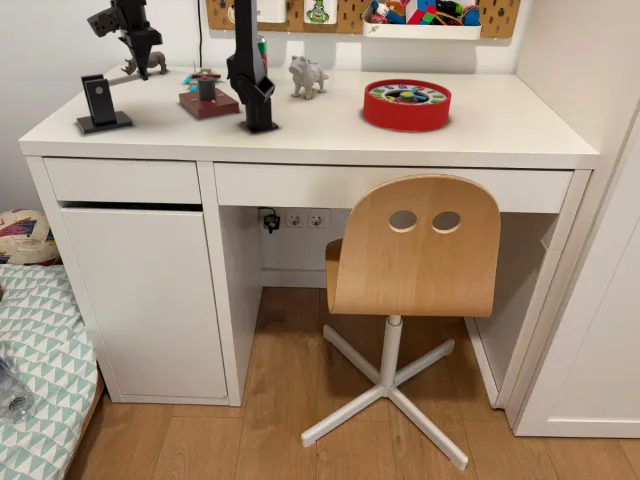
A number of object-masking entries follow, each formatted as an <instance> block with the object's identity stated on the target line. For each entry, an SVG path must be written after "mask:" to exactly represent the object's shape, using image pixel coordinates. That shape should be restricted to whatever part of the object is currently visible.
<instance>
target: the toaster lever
mask: <svg viewBox="0 0 640 480" xmlns="http://www.w3.org/2000/svg"><path fill="white" fill-rule="evenodd" d="M135 72H136V73H132V74H131V75H129V76H128V75H124V76H121V77H117V78H112V79H109V80H108V79H107V80H108V83H109V88H110V87H114V86H118V85H121V84H125V83H130V82H134V81H138V80H142V81H143V82H147V81H149V80H150V79H149V74H148V75H147V74H145V73H140V72H139V71H138V69H136V70H135ZM99 79H100V78H98V79H94V80H99ZM90 81H91V80H90Z"/></svg>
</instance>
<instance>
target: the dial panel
mask: <svg viewBox="0 0 640 480" xmlns="http://www.w3.org/2000/svg"><path fill="white" fill-rule="evenodd" d="M178 98H179V104H181V106H183V107H184V108H185V109H187V110H188V111H189V112H190V113H191V114H192V115H194V116H195V117H196V118H197V119H198V120H202V119H207V118H213V117H218V116H224V115H229V114H239V113H240V104H239V101H237V100H236V99H235V98H233V97H231V96H230V95H229V94H227V93H226V92H225V91H223V90H221V89H220V88H218V87H216V99H213V100H201V99H200V98H199V90H195V91H188V92H180V93H178Z"/></svg>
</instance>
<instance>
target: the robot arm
mask: <svg viewBox="0 0 640 480" xmlns="http://www.w3.org/2000/svg"><path fill="white" fill-rule="evenodd" d="M109 3H110V7H108V8H105V9H103V10H101V11H99V12H97V13H95V14H93V15H91V16H89V17H87V18H86V21H87V23H88V24H89V27H90V28H91V30H92V31H93V33H94V34H95V35H96V36H97V37H98V38H104V37H106V36H107V34H109V33H112V34H116V33H117V31H120V36H118V37H117V40H119V41H120V42H122V43H123V44H124V45H125V46H126V47H127V48H128V50H129V53H130V54H131V58H133V59H134V62H135V64H136V66H137V68H136V70H138V71H139V72H140V73H145V70H146V67H147V63H148V59H149V55H150V53H151V52H152V50H153V49H152V48H153V46H154V47H155V46H162V45H164V42H163V40H164V39H163V36H162V33H161V32H160V31H158V30H157V29H155V28H154V27H152V26H151V22H150V21H149V20H147V19H148V18H147V13H146V8H145V6H148V3H147V0H109ZM233 12H234V13H233V14H234V38H235V49H234V53H233V54H231V55H230V56H228V57H227V58H226V61H225V63H226V68H227V76H226V80H227V81H228V80H229V86H230V87H231V90H233V91H234V92H235V93H236V94H237V96H238V99H239V101H240V103H241V105H244V111H245V121H240V125H241V126H242V127H243V128H245V129H246V130H247V131H249V132H250V133H251V134H258V133H262V132H267V131H271V130H277V129H279V125H278V124H277V123H275V122H273V108H272V107H273V106H272V98H271V96H272V95H274V93H275V91H276V87H277V85H276V84H275V83H274V81H272V79H270V78H269V76H268V77H267V76H266V75H265V71H264V66H263V60H262V57H261V55H260V52H259V49H258V43H257V35H258V0H233Z"/></svg>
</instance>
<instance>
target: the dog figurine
mask: <svg viewBox="0 0 640 480" xmlns="http://www.w3.org/2000/svg"><path fill="white" fill-rule="evenodd" d="M288 72H289V73H290V74H291V75H292V81H293V84H294V92H293V97H299V95H300V92H301V88H304V90H305V91H306V93H305V95H306V96H305V99H307V100H310V99H312V91H313V86H314V84H317V83H318V85H319V92H320V93H324V87H325V85H324V84H325V70H324V68H323V66H322V65H320V64H319V62H318V61H317V60H314V61H311V58H310V57H305V56H304V55H300V56H297V55H295V54H293V55H291V62H290V66H289V67H288Z"/></svg>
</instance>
